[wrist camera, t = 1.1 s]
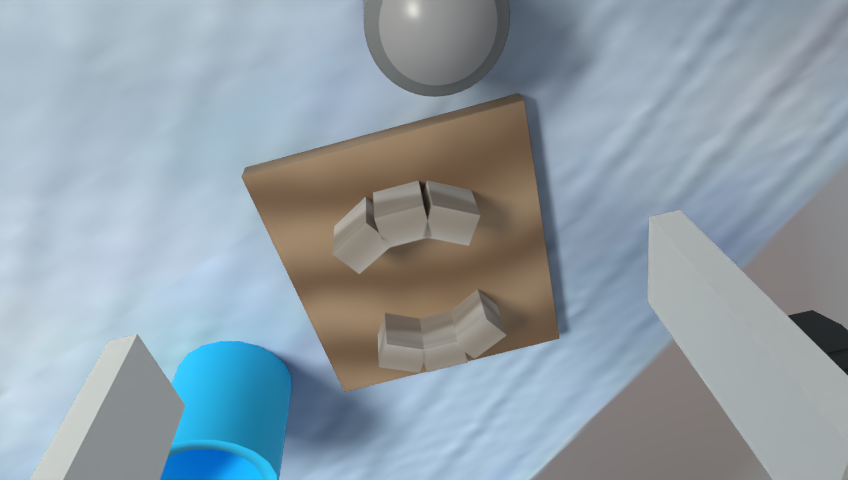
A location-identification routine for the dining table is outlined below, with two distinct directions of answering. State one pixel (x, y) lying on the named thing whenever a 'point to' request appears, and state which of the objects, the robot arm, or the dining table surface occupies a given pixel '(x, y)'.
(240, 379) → the mug
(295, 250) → the board
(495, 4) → the cap
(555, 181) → the dining table surface
